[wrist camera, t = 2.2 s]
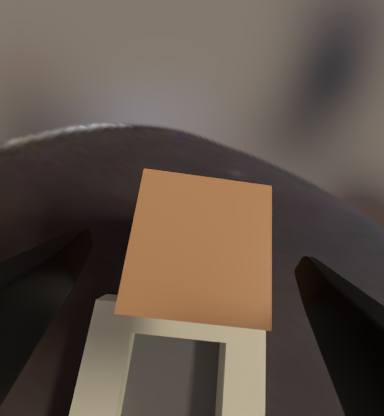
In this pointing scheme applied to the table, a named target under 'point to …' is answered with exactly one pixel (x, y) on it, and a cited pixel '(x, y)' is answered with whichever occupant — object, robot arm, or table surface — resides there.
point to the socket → (168, 367)
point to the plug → (199, 252)
